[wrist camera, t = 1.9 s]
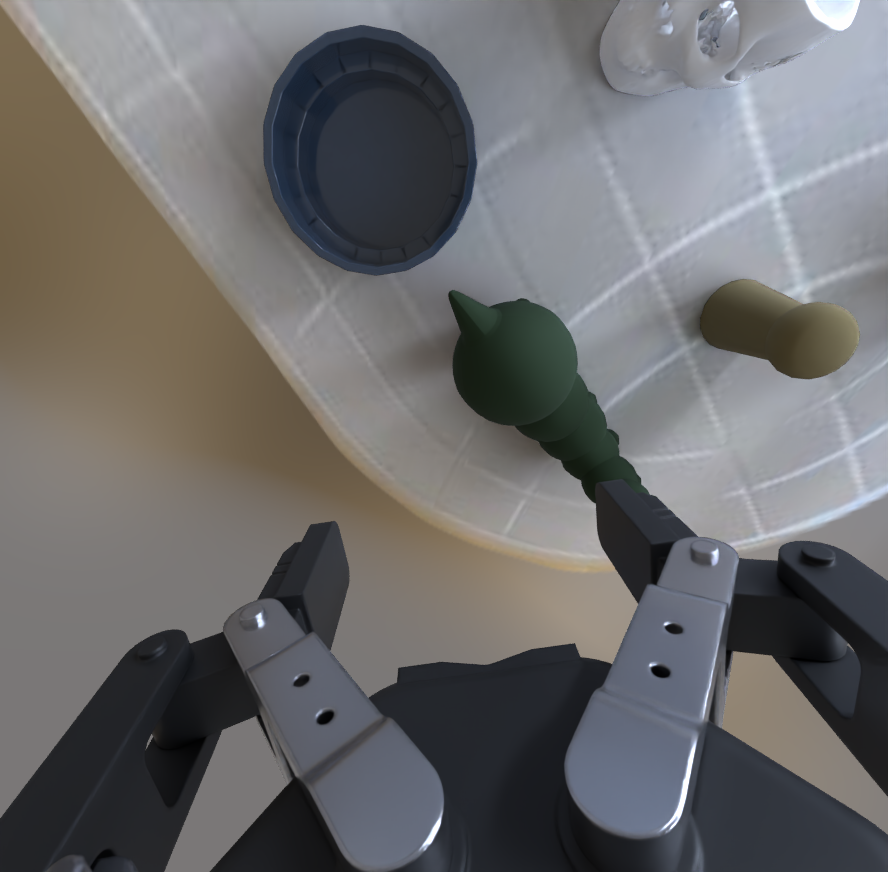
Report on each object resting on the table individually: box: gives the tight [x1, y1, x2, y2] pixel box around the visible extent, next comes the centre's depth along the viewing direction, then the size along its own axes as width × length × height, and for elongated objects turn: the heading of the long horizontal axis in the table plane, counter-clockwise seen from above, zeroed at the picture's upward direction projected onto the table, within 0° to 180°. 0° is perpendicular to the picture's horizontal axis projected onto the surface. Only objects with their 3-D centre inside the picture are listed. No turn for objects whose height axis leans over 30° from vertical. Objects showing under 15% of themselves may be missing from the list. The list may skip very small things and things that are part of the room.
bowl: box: [263, 25, 477, 276], centre depth 33 cm, size 14×14×6 cm
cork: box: [700, 279, 860, 379], centre depth 35 cm, size 6×6×11 cm
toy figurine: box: [448, 290, 657, 503], centre depth 35 cm, size 9×19×25 cm
